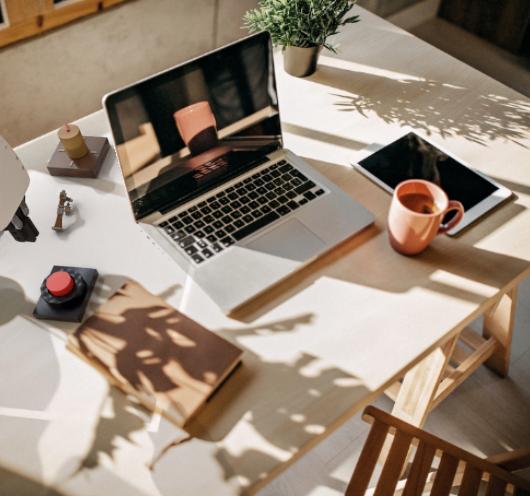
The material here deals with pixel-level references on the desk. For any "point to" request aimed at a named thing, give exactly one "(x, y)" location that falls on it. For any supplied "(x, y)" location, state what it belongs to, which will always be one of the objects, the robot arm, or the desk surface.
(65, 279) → the light button
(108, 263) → the desk surface
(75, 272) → the switch box
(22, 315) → the desk surface
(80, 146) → the dimmer knob
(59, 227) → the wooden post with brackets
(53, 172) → the dimmer console
